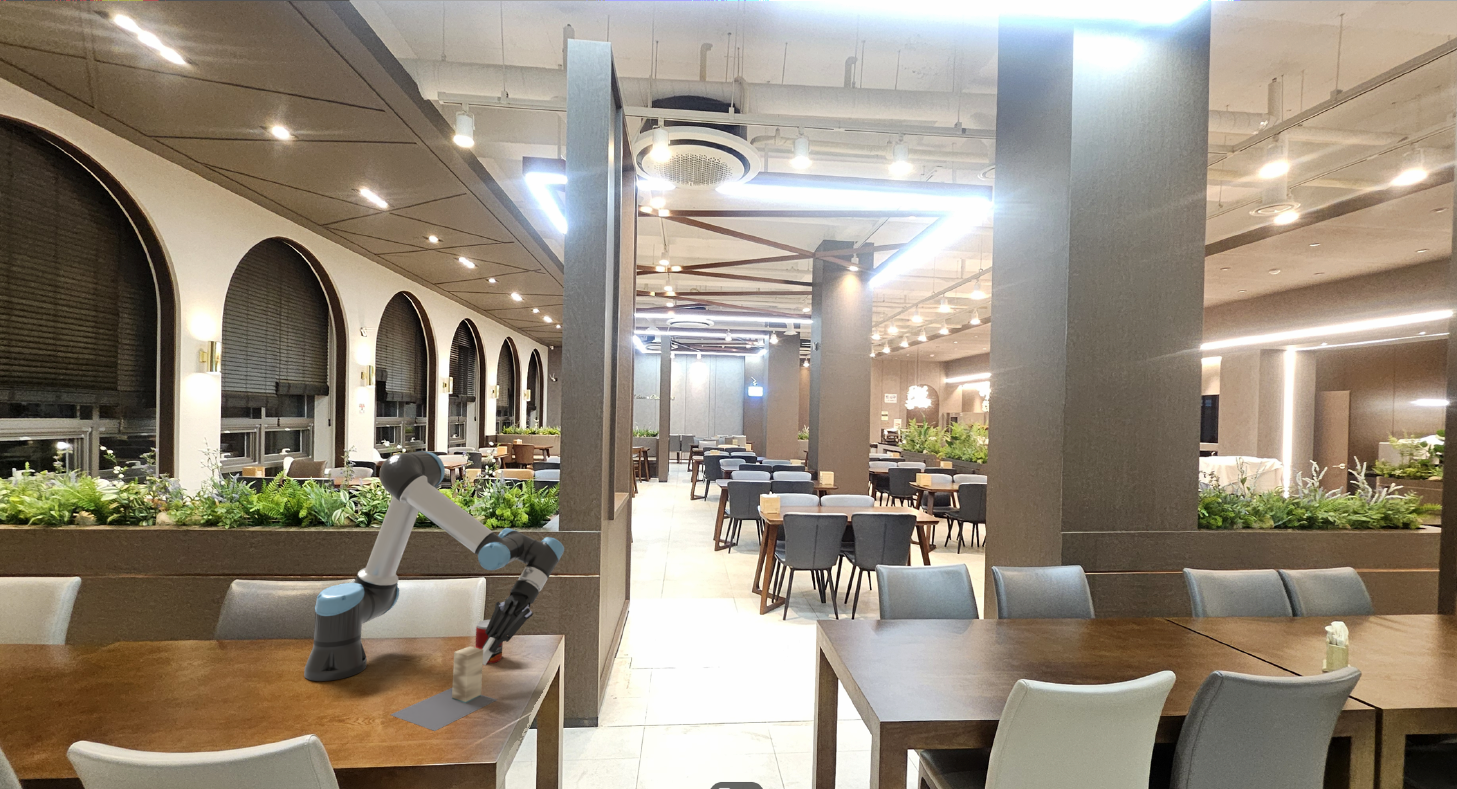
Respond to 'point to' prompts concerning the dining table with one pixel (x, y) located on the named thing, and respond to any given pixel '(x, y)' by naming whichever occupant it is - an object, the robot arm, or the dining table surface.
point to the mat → (440, 710)
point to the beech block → (467, 674)
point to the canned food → (482, 638)
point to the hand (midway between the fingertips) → (480, 662)
